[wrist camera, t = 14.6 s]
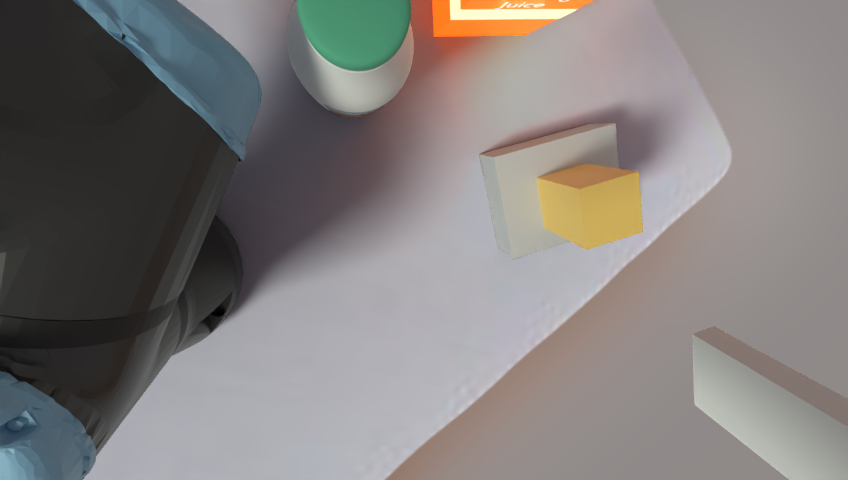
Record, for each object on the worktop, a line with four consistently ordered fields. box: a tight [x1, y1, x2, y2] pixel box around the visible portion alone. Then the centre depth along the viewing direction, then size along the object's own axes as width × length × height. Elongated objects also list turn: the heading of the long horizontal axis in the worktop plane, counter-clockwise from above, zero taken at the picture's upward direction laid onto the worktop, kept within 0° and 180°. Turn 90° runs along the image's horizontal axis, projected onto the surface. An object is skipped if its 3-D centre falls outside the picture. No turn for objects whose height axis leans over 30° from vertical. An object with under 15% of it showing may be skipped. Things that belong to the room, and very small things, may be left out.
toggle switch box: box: [479, 123, 619, 259], centre depth 37 cm, size 12×10×8 cm
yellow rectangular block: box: [537, 163, 643, 250], centre depth 34 cm, size 5×5×7 cm
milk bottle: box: [287, 0, 414, 117], centre depth 25 cm, size 8×8×20 cm
